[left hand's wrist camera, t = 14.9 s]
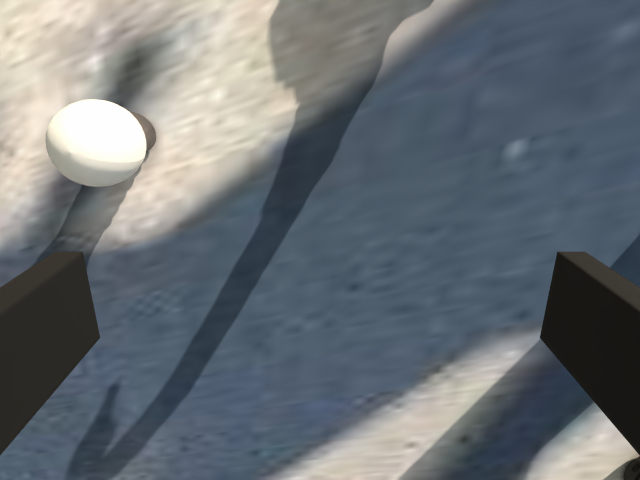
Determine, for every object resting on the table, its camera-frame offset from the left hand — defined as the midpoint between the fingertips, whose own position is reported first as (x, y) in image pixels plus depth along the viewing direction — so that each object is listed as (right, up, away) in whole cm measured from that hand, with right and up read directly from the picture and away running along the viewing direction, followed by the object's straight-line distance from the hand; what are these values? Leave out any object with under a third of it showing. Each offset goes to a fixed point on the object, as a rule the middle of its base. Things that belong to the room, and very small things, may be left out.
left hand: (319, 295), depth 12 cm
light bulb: (-18, +12, +29) cm, 36 cm away
